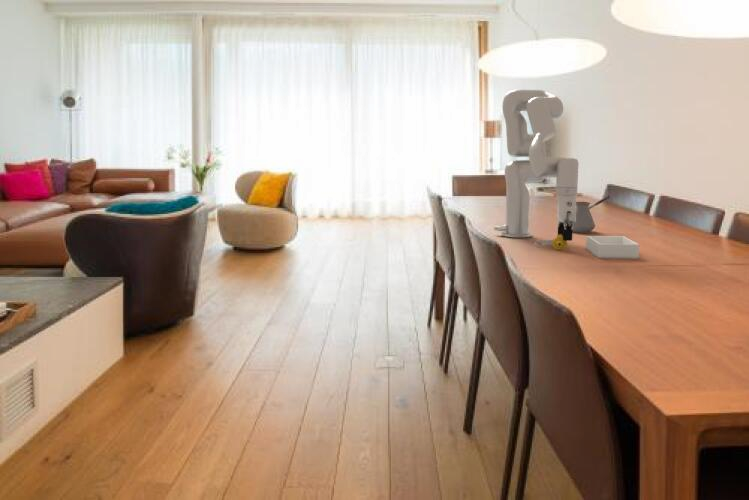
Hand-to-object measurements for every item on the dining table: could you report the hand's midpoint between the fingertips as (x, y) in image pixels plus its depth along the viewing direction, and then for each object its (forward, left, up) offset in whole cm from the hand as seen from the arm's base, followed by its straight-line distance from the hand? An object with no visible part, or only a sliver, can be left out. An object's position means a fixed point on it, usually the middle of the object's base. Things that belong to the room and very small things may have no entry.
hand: (564, 238), depth 229 cm
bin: (+15, -8, -4) cm, 17 cm away
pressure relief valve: (-5, +1, -4) cm, 7 cm away
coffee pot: (+21, +44, -4) cm, 49 cm away
